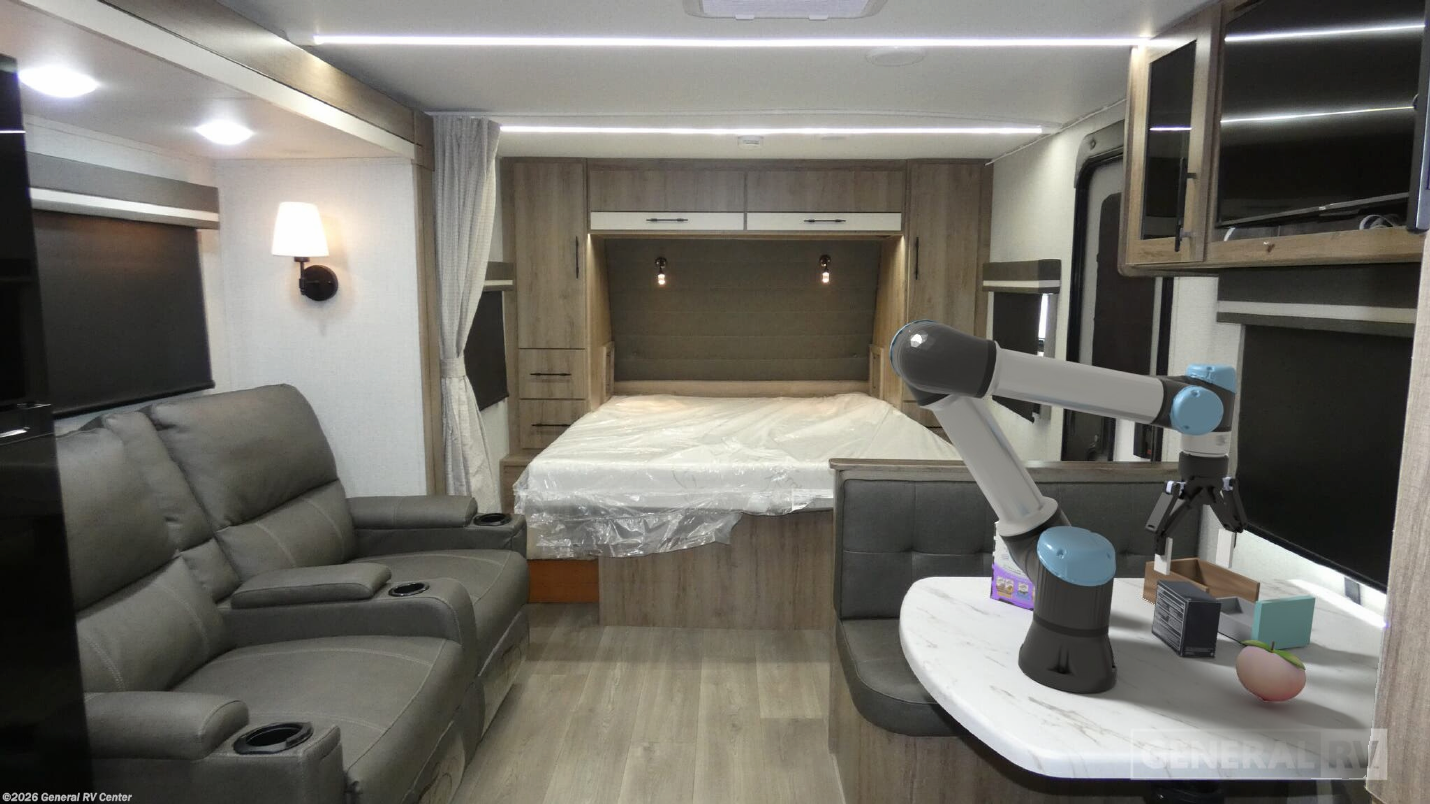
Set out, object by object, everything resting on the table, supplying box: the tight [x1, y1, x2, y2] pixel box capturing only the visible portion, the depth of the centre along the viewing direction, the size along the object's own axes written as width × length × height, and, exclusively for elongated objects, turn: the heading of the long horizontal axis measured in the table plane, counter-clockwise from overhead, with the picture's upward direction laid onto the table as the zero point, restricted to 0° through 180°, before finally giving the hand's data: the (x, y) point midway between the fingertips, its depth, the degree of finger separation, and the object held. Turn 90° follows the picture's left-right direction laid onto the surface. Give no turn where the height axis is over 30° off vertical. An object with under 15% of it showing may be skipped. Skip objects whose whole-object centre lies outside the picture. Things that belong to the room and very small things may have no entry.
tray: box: [1215, 594, 1317, 650], centre depth 152 cm, size 12×15×9 cm
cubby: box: [1142, 557, 1261, 605], centre depth 163 cm, size 13×15×8 cm
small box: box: [1151, 580, 1222, 659], centre depth 147 cm, size 11×6×10 cm, turn 179°
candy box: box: [989, 520, 1035, 611], centre depth 164 cm, size 14×6×16 cm, turn 44°
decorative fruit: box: [1235, 640, 1307, 703], centre depth 127 cm, size 9×8×10 cm
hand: (1192, 569), depth 146 cm, fingers open, 13 cm apart
